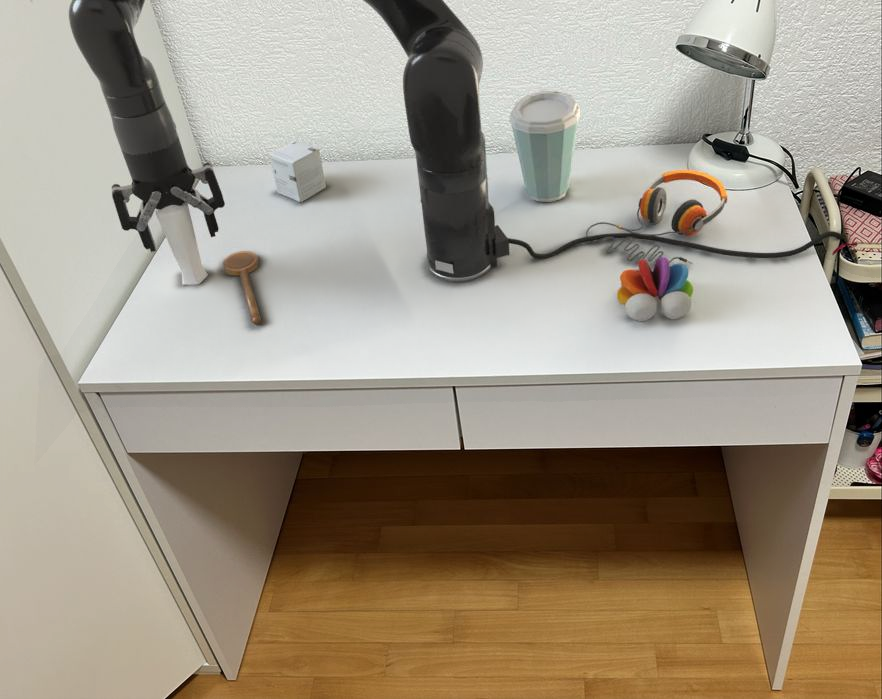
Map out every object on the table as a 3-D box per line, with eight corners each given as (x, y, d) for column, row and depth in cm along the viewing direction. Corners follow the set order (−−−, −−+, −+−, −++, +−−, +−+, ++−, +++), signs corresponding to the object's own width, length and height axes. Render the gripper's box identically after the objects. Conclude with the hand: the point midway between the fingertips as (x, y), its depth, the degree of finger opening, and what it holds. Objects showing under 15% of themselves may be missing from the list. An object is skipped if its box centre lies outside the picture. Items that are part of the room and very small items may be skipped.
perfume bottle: (213, 268, 130) (185, 179, 120) (205, 285, 127) (175, 196, 117) (184, 268, 131) (154, 180, 121) (175, 286, 127) (143, 197, 118)
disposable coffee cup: (561, 215, 133) (561, 124, 123) (499, 201, 138) (495, 112, 128) (590, 183, 139) (592, 94, 130) (530, 170, 144) (528, 84, 135)
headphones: (574, 226, 125) (655, 145, 132) (579, 252, 129) (657, 172, 136) (674, 269, 116) (756, 179, 122) (675, 295, 119) (755, 207, 126)
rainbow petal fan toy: (612, 288, 118) (614, 243, 113) (685, 284, 117) (690, 238, 112) (620, 327, 111) (623, 281, 107) (697, 323, 111) (703, 277, 106)
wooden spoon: (222, 260, 132) (220, 254, 131) (255, 252, 132) (254, 245, 132) (239, 331, 118) (237, 324, 117) (276, 321, 119) (275, 314, 118)
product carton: (276, 193, 146) (267, 153, 141) (303, 177, 149) (294, 138, 144) (301, 203, 143) (292, 163, 138) (327, 187, 146) (319, 147, 141)
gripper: (93, 163, 110) (134, 267, 120) (205, 137, 113) (236, 242, 123) (92, 138, 116) (132, 241, 126) (199, 115, 118) (229, 217, 129)
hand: (183, 241), depth 125 cm, fingers open, 8 cm apart
